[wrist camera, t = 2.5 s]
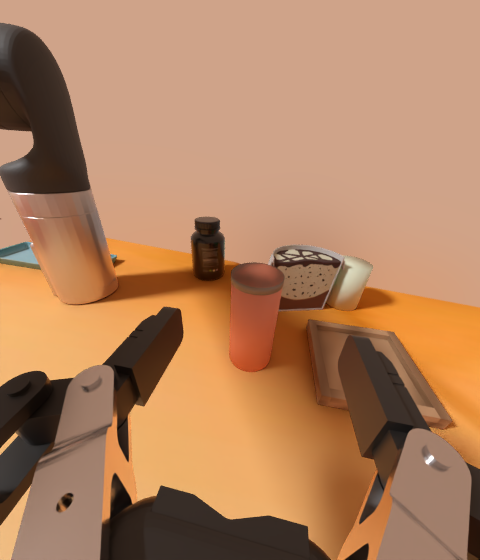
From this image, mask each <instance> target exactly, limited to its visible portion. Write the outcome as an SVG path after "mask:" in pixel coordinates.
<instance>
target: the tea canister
mask: <svg viewBox="0 0 480 560" xmlns="http://www.w3.org/2000/svg"><path fill="white" fill-rule="evenodd" d="M284 279H285V276H284V274H283V272H282V271H281V270H279V269H278V268H276V267H274V266H271V265H268V264H263V263H244V264H241V265H238V266H236V267H235V268H233V270H232V271H231V314H230V349H229V356H230V359H231V361H232V363H233V364H234V365H235V366H236V367H237V368H239V369H241V370H243V371H247V372H255V371H259V370H261V369H263V368H265V367H266V366H267V365H268V363H269V361H270V356H271V350H272V344H273V339H274V333H275V327H276V322H277V316H278V310H279V304H280V299H281V293H282V288H283V285H284Z"/></svg>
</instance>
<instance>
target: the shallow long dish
mask: <svg viewBox="0 0 480 560" xmlns="http://www.w3.org/2000/svg"><path fill="white" fill-rule="evenodd" d="M31 243H32V242H23V243H20V244H16V245H13V246H9V247H6V248H2V249H0V263H3V264H9V265H15V266H21V267H27V268H33V269H40V270H41V267H40V265H39V263H38V261H37V259H36V257H35V255H34V253H33V251H32V249H31V247H30V244H31ZM110 255H111V259H112V262H113V263H114V262H115V260H116V258H117V255H112V254H110Z"/></svg>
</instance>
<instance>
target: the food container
mask: <svg viewBox="0 0 480 560" xmlns="http://www.w3.org/2000/svg"><path fill="white" fill-rule="evenodd" d="M344 259H345V257H343V256H342V255H340V254H338V253H336V252H333V251H330V250H327V249H324V248H320V247H315V246H308V245H287V246H282V247H279V248H277V249H275V250H274V252H273V254H272V255H271V257H270V260H269V263H268V265H271V266H274V267H276V268H278V269H279V270H281V271H282V272H283V274H284V276H285V279H284V285H283V288H282V293H281V299H280V304H279V310H278V311H299V310H322V309H323V308H324V306H325V303H326V301H327V299H328V296H329V294H330V292H331V289H332V287H333V285H334V283H335V280H336V278H337V276H338V273H339V271H340V269H341V268H342V269H344V266H345V261H344Z"/></svg>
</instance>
